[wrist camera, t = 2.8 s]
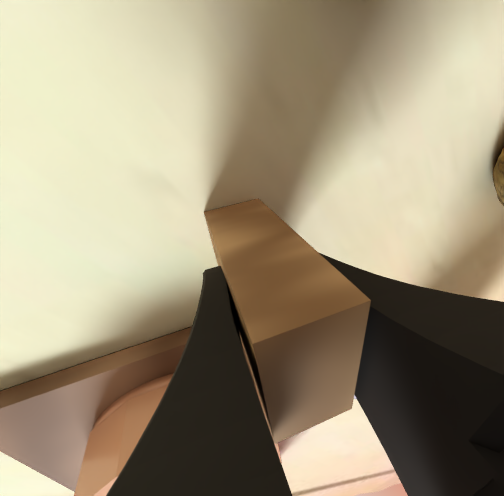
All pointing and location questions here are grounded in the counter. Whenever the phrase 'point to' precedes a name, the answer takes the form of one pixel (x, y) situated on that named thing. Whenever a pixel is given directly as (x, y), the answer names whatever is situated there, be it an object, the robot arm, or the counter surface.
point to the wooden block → (290, 317)
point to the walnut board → (77, 405)
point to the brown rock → (499, 177)
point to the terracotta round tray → (120, 436)
